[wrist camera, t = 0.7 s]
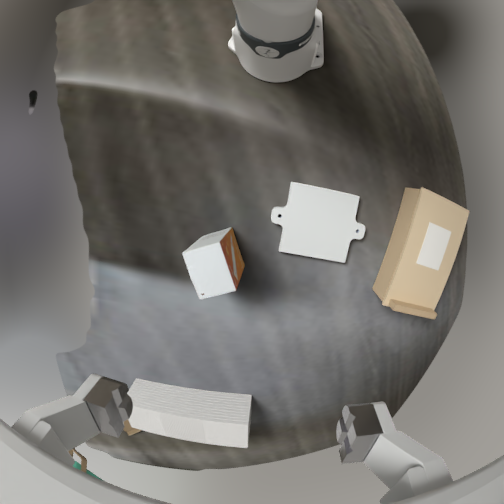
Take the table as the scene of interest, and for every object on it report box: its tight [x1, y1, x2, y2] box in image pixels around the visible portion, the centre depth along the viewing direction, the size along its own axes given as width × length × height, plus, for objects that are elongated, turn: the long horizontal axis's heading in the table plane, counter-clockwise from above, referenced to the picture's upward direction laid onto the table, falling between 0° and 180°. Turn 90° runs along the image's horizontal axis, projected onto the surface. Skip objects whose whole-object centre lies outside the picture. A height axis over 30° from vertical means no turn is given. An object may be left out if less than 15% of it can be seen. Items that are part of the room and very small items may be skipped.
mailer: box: [372, 187, 420, 301], centre depth 47 cm, size 22×13×6 cm, turn 166°
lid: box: [382, 187, 469, 319], centre depth 42 cm, size 23×13×3 cm, turn 166°
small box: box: [182, 227, 245, 300], centre depth 47 cm, size 8×6×13 cm
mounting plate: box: [271, 182, 365, 263], centre depth 50 cm, size 18×13×2 cm
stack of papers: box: [127, 378, 252, 448], centre depth 60 cm, size 32×11×11 cm, turn 89°
